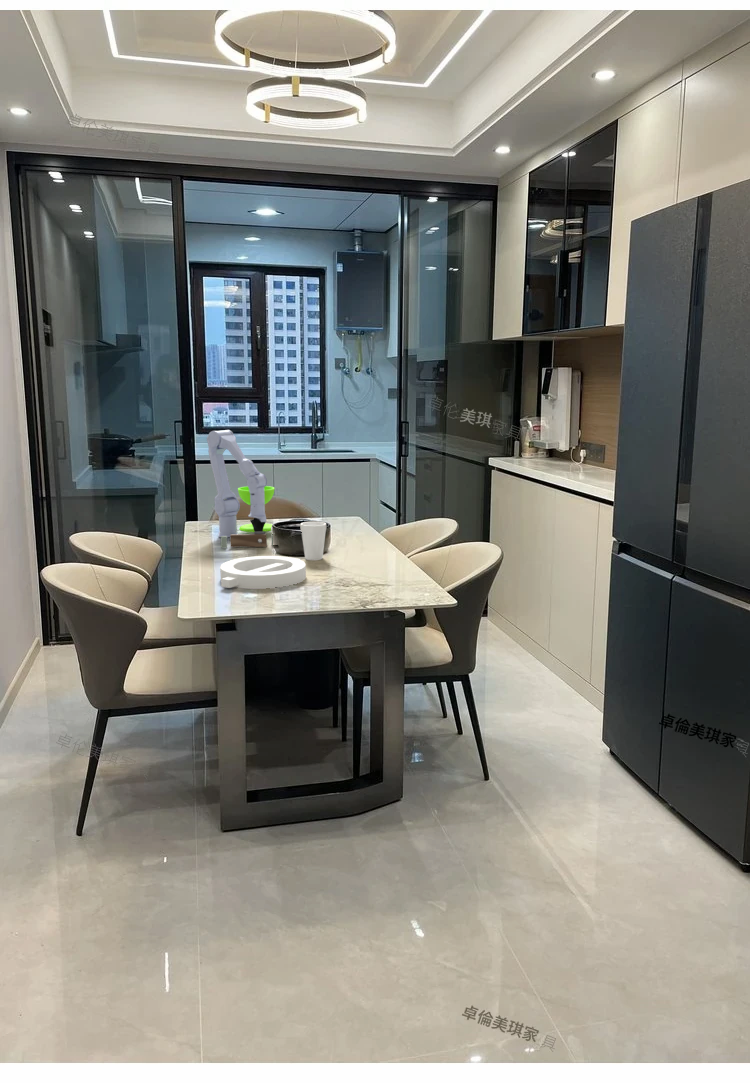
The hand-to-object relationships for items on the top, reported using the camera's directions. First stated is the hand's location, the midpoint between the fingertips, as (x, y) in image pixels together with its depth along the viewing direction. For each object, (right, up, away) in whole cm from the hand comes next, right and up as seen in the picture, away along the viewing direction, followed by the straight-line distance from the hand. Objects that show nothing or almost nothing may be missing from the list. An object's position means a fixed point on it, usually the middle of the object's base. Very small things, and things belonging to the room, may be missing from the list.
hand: (258, 536), depth 326 cm
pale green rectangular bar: (-2, -4, -12) cm, 13 cm away
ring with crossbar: (+11, -15, -62) cm, 64 cm away
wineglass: (-4, +3, +25) cm, 26 cm away
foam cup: (+25, -8, -33) cm, 42 cm away
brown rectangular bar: (-2, -4, -14) cm, 15 cm away
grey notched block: (+1, -3, -6) cm, 7 cm away
